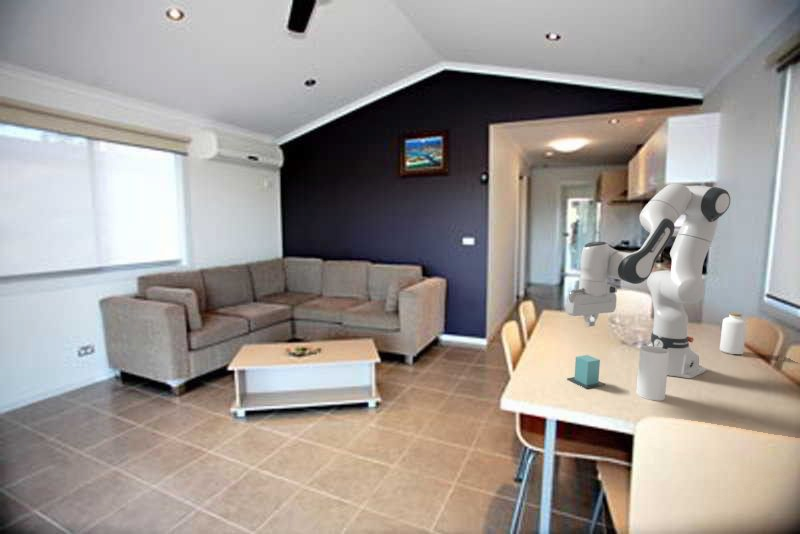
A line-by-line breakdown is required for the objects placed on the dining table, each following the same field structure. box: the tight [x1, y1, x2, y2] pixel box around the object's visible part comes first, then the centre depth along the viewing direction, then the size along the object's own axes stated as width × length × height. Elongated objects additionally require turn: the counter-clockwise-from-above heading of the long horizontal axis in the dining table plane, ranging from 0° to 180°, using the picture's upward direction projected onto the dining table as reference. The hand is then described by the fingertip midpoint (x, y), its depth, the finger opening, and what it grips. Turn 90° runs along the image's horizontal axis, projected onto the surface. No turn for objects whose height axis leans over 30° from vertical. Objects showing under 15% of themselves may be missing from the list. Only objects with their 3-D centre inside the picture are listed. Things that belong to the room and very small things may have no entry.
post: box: [566, 376, 606, 390], centre depth 148 cm, size 9×9×7 cm
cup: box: [636, 345, 669, 402], centre depth 137 cm, size 8×8×16 cm
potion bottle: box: [719, 312, 748, 355], centre depth 182 cm, size 8×8×18 cm
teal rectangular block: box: [574, 354, 601, 385], centre depth 147 cm, size 6×6×9 cm
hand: (589, 326), depth 146 cm, fingers closed
